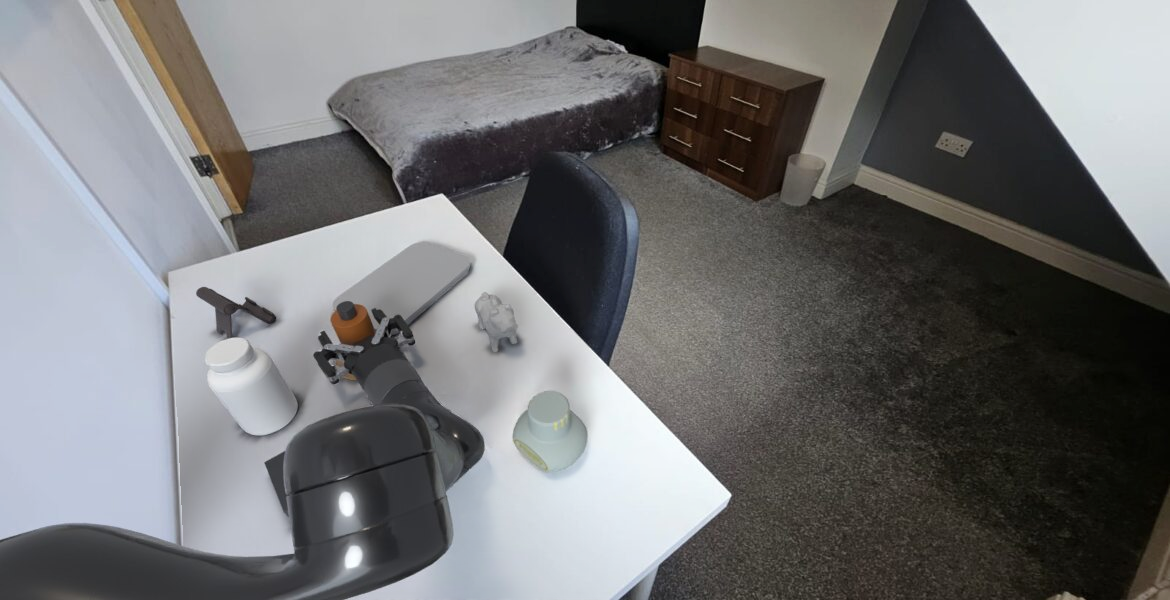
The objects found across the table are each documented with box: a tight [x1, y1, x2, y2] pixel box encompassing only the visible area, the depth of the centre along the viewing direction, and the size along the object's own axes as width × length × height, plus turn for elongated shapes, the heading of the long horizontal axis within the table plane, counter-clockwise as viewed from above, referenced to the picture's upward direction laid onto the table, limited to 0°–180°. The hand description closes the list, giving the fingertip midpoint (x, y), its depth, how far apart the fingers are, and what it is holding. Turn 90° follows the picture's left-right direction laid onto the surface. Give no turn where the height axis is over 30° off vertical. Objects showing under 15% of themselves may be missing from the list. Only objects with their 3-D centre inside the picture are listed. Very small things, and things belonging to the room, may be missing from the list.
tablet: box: [331, 241, 472, 337], centre depth 97 cm, size 16×26×2 cm, turn 152°
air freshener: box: [512, 390, 588, 473], centre depth 67 cm, size 11×8×10 cm
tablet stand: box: [195, 286, 278, 339], centre depth 86 cm, size 9×8×8 cm
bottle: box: [329, 301, 376, 345], centre depth 79 cm, size 6×6×12 cm
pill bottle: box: [204, 337, 299, 436], centre depth 69 cm, size 8×8×15 cm
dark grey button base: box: [263, 450, 290, 518], centre depth 64 cm, size 11×10×6 cm
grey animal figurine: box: [474, 291, 519, 353], centre depth 84 cm, size 5×13×11 cm, turn 32°
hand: (349, 323), depth 79 cm, fingers open, 8 cm apart
